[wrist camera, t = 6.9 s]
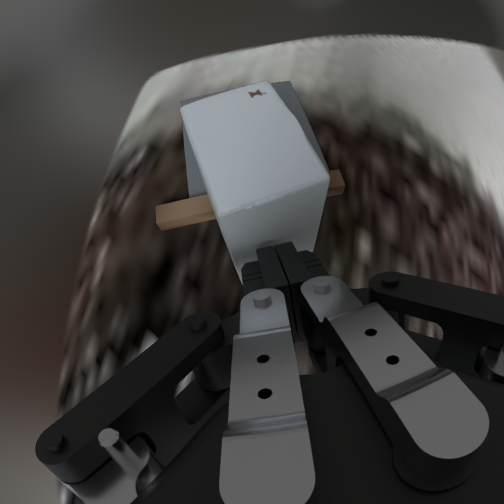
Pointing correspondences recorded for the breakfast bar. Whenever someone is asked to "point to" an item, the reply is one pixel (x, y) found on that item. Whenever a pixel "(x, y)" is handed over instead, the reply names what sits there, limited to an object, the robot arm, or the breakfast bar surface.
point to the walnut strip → (203, 210)
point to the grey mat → (292, 104)
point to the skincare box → (257, 170)
